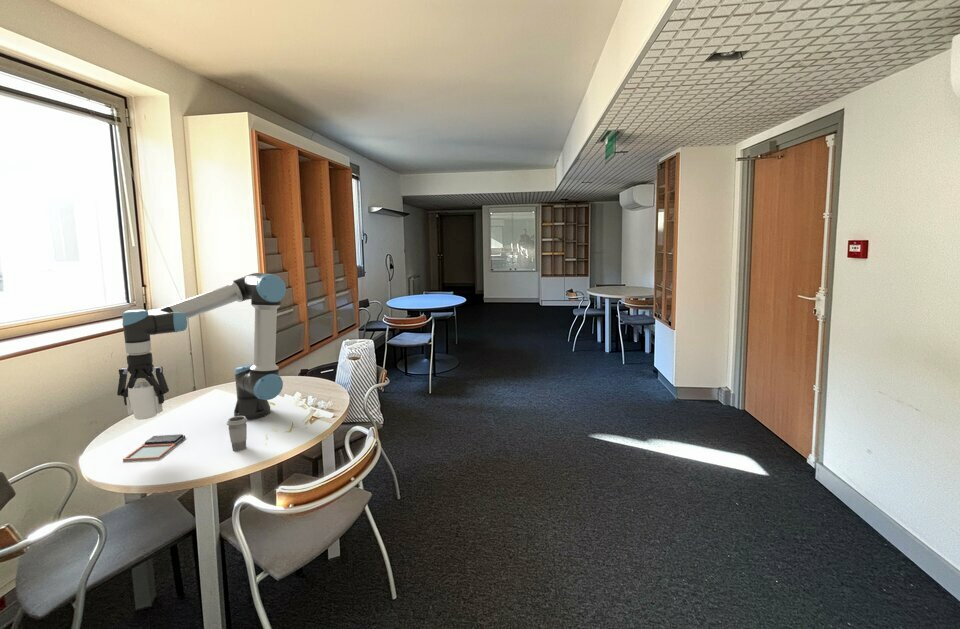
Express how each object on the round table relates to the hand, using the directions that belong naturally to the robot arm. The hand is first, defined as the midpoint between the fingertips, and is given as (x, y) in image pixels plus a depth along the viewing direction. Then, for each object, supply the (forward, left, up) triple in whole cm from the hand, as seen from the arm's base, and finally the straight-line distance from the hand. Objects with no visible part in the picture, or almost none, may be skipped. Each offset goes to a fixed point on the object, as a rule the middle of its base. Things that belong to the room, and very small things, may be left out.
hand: (145, 412), depth 176 cm
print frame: (0, 0, -16) cm, 16 cm away
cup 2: (-32, 0, -16) cm, 35 cm away
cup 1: (0, 0, -2) cm, 2 cm away
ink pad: (0, -10, -16) cm, 19 cm away
